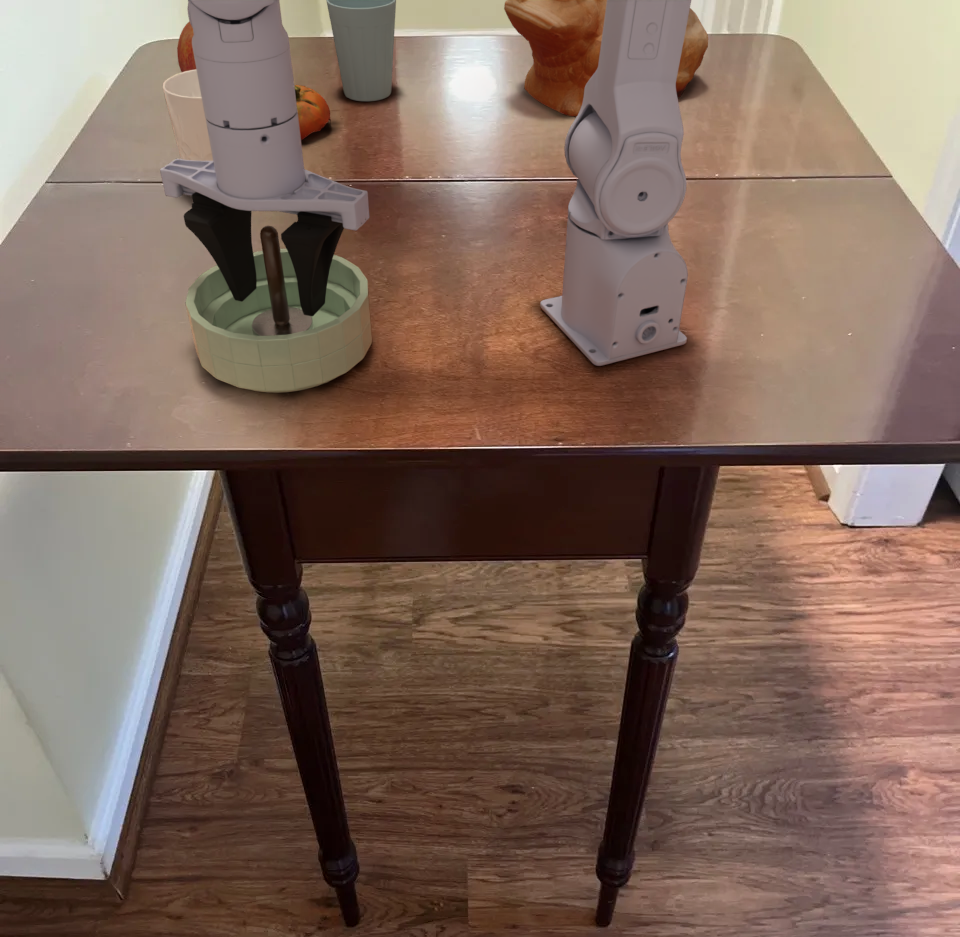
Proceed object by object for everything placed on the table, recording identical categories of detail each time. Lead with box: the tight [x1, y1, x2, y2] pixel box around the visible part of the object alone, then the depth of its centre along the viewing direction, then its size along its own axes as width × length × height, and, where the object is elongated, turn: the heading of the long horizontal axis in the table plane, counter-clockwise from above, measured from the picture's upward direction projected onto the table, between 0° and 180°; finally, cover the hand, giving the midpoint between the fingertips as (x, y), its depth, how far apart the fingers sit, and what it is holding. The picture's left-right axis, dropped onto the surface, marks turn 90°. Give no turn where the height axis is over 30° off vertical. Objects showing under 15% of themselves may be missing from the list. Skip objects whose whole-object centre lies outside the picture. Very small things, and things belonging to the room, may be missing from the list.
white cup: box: [161, 69, 213, 161], centre depth 90 cm, size 8×8×10 cm
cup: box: [326, 0, 397, 102], centre depth 109 cm, size 8×8×10 cm
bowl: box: [184, 247, 373, 394], centre depth 70 cm, size 13×13×5 cm
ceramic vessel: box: [503, 0, 709, 117], centre depth 109 cm, size 14×26×15 cm, turn 117°
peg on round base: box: [252, 225, 314, 336], centre depth 68 cm, size 4×4×9 cm
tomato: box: [294, 84, 332, 141], centre depth 103 cm, size 8×7×7 cm
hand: (279, 301), depth 69 cm, fingers open, 5 cm apart
